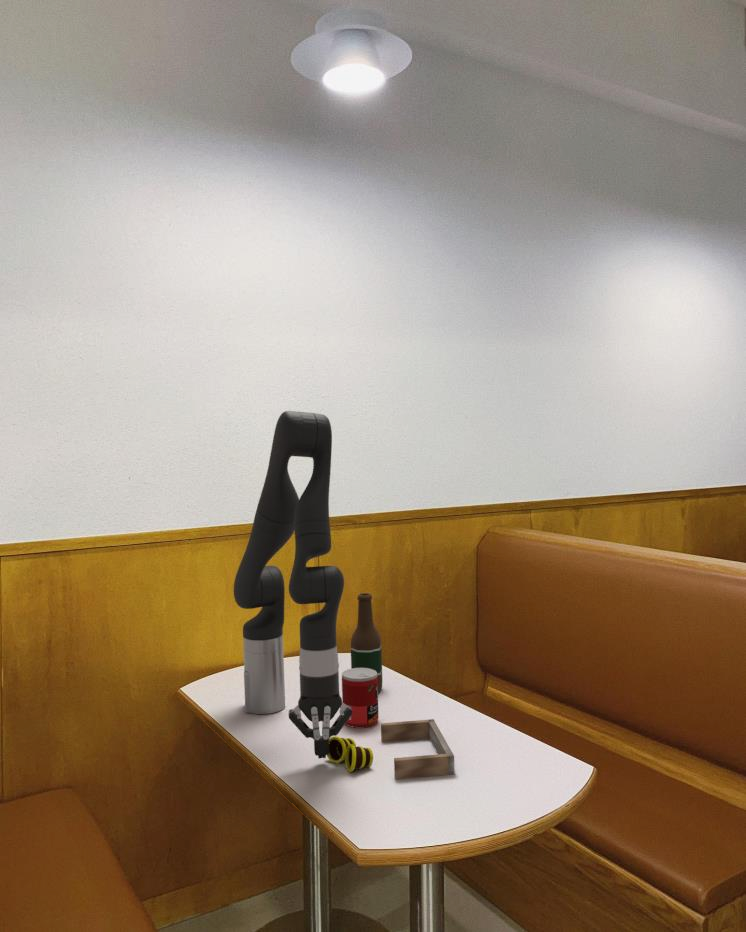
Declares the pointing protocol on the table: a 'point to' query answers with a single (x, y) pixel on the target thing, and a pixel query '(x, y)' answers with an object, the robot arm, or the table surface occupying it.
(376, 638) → the beer bottle
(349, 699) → the canned food
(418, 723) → the walnut bay
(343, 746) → the opera glasses
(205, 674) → the table surface
